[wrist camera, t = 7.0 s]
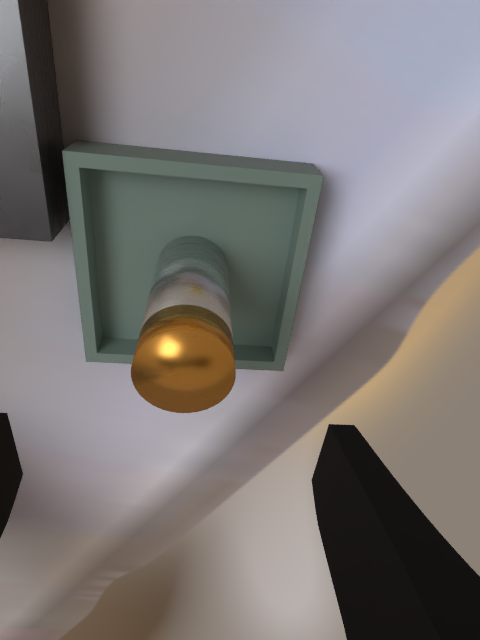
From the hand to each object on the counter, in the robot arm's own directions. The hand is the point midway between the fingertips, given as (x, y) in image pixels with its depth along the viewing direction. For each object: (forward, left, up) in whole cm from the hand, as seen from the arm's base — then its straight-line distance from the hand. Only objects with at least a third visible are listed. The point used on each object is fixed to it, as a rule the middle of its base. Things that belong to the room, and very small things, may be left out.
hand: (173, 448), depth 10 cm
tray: (0, 0, -10) cm, 10 cm away
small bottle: (0, 0, -10) cm, 10 cm away
